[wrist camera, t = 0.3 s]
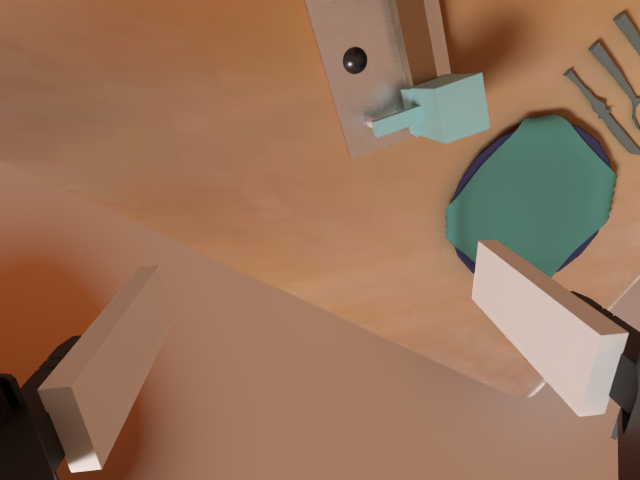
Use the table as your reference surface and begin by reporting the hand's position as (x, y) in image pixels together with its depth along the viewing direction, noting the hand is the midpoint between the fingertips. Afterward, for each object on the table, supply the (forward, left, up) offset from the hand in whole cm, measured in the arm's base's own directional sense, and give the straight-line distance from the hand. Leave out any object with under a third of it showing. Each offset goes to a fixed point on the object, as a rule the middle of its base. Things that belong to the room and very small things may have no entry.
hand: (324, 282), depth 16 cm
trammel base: (-9, +11, -28) cm, 31 cm away
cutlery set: (+11, +28, -28) cm, 41 cm away
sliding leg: (-2, +12, -26) cm, 29 cm away
